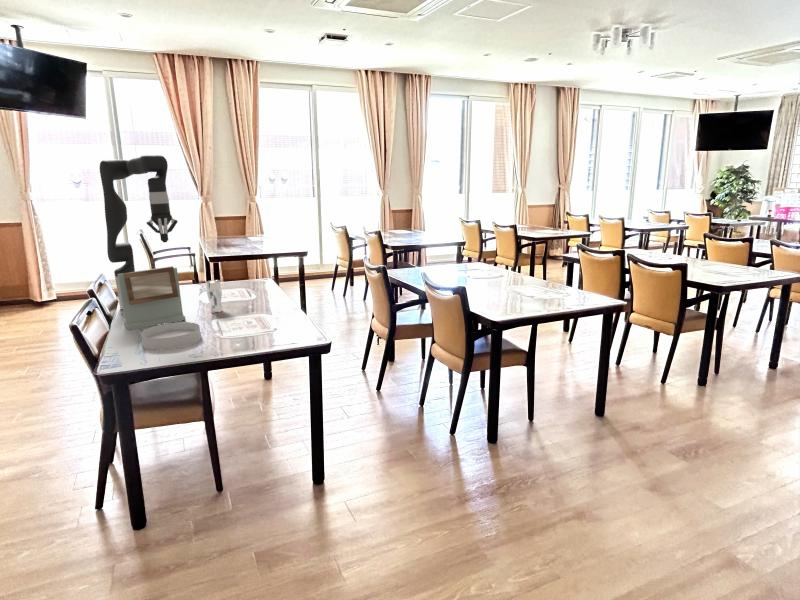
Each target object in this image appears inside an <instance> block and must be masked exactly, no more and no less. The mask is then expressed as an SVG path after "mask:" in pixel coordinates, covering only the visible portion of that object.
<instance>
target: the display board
mask: <svg viewBox="0 0 800 600" xmlns="http://www.w3.org/2000/svg"><path fill="white" fill-rule="evenodd" d="M173 268H174V274H175V279H176V285H177V291H178V296H179V297H174V298H168V299H163V300H157V301H151V302H146V303H140V304H134V305H130V304H129V299H128V294H127V289H126V284H125V279H124V274H123V273H121V274H118V280H119V286H120V292H121V299H122V305H123V310H122V311H123V315H124V316H123V318H124V319H123V321H124V326H125V325H126V326H125V328H126V330H127V331H131V330H136V328H137V329H142V328H141V327H144V328H148V327H147V326H150V327H154V325H156V326H158V324H162V325H163V324H164V323H171V322H174V323H177V322H176V321H180V322H183V321H182V320H186V315H185V314H184V312H183V305H182V298H181V290H180V282H179V281H180V280H179V275H178V274H179V273H178V267H175V266H174V267H173ZM186 321H187V320H186Z"/></svg>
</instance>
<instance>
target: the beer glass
mask: <svg viewBox="0 0 800 600" xmlns="http://www.w3.org/2000/svg"><path fill="white" fill-rule="evenodd" d="M205 288H206V295H207V299H208V302H209V312H210V313H212V314H216V313H215V312H218V313H221V311H222V312H223V311H224V309H223V306H222V297H223V292H222V283H221V280H219V279H213V280H208V281H207V280H206V281H205Z"/></svg>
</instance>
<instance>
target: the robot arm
mask: <svg viewBox="0 0 800 600" xmlns="http://www.w3.org/2000/svg"><path fill="white" fill-rule="evenodd" d="M168 164H169V163H168V161H167V159H166V158H165V156H164V155H159V154H145V155H141V156H139V157H133V158H131V159H129V160H127V159H120V158H116V159H113V158H112V159H104V160H102V161H100V162H99V174H100V180H101V185H102V191H103V202H104V216H105V217H104V219H105V225H106V237H107V238H106V240H107V242H106V243H107V247H106V248H107V249H106V252H107V257H108V261H110V263H115V264H116V263H124V264H123V265H121V266H120V267H118V268H116V269H115V270H114V272H113V273H114V279H115V284H116V285H115V286H116V291H117V298H118V303H119V304H118V305H119V309H120V310H121V309H123V305H122V299H121V292H120V286H119V280H118V274H121V273H129V272H136V270H135V262H134V250H133V246H132V245H131V244H130V243H129V242H122V243H121V242H120V243H119V242H118V243H117V240H118V236H119V234H120V232H121V231H122V230H123V228H124V227H125V226H126V223H127V221H128V213H127V212H128V211H127V210H128V209H127V206H126V203H125V202H124V201H123V199H122V198H121V197H120V195H119V194H118V193H117V192H116V189H115V185H114V181H117V180H118V181H119V180H124V179H127V178H129V177H131V176H133V175H143V174H144V175H145V174H148V173H156V174H155V176H154V177H150V178H148V180H147V186H148V195H149V197H148V198H149V206H150V212H151V216H150V219H149V220H148V221H146V225H147V226H148V227H150V228H151V230H153V231H154V232H155V233H156V234H159V236H160V240H161V242H162V243H167V242H168V241H169V236H168V235H169V234H168V233H171V232H172V231H173V230H174V228H175V227H176V225H177V224H178V220H177V219H174V218H173V216H172V214H171V207H170V199H169V196H168V191H167V184H166V180H167V173H168V167H169V166H168ZM170 223H171V224H170ZM154 224H155V225H156V226H157V227H158V228H156V227H155V225H154ZM168 225H170V226H169V227H168Z"/></svg>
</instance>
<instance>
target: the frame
mask: <svg viewBox="0 0 800 600" xmlns="http://www.w3.org/2000/svg"><path fill="white" fill-rule="evenodd" d="M174 268H175V267H174V266H173V265H171V266H164V267H157V268H150V269H144V270H135V272H129V273H123V274H124V279H125V284H126V289H127V294H128V299H129V304H130V305H134V304H140V303H146V302H151V301H157V300H163V299H168V298H174V297H179V296H178V291H177V285H176V279H175V274H174Z"/></svg>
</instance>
